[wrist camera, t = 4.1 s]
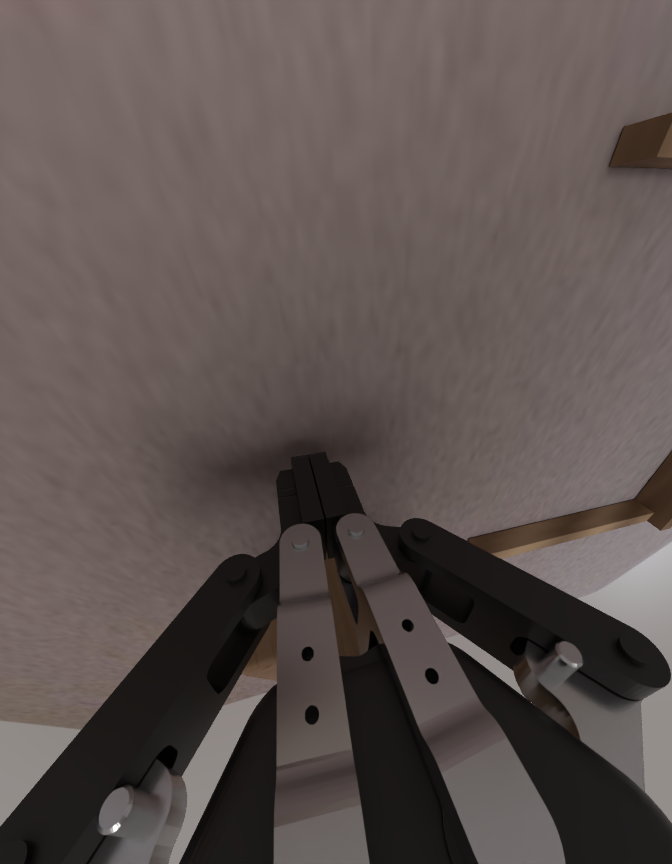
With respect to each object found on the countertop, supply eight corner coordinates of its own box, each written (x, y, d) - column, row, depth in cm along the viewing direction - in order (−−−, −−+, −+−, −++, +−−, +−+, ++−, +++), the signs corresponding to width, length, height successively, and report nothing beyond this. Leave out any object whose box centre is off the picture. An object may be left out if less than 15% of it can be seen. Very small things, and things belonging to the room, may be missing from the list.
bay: (924, 147, 13) (1047, 131, 11) (637, 505, 26) (670, 528, 24) (624, 126, 10) (721, 97, 8) (465, 547, 23) (486, 577, 21)
